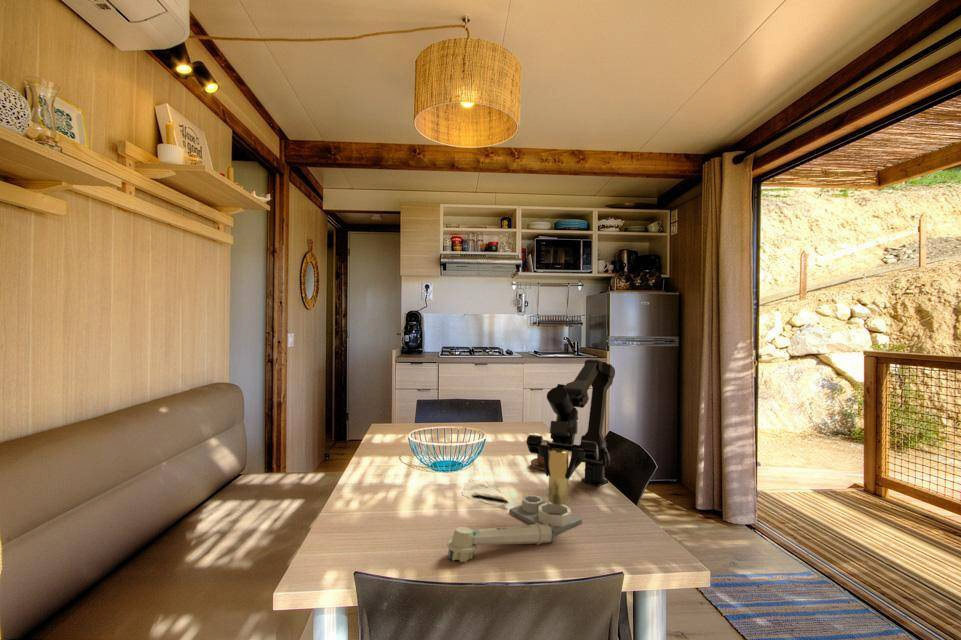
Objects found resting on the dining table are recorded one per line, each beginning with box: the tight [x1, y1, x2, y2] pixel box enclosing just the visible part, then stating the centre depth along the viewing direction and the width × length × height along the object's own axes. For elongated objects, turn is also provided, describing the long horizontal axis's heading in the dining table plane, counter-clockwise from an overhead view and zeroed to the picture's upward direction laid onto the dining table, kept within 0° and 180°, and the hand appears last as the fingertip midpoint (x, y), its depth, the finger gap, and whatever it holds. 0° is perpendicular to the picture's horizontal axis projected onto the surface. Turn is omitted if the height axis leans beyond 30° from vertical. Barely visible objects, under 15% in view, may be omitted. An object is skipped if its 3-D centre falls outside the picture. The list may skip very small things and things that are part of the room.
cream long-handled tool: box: [446, 523, 555, 563], centre depth 98 cm, size 5×7×25 cm
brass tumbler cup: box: [548, 448, 569, 505], centre depth 111 cm, size 5×5×13 cm
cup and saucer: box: [530, 454, 546, 472], centre depth 155 cm, size 12×12×6 cm
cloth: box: [461, 477, 509, 510], centre depth 131 cm, size 26×14×2 cm, turn 13°
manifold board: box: [508, 494, 583, 536], centre depth 114 cm, size 11×16×4 cm
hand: (557, 477), depth 110 cm, fingers closed on brass tumbler cup, 5 cm apart
